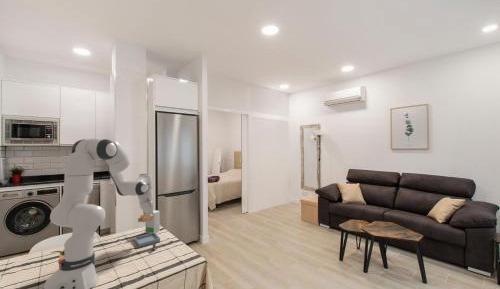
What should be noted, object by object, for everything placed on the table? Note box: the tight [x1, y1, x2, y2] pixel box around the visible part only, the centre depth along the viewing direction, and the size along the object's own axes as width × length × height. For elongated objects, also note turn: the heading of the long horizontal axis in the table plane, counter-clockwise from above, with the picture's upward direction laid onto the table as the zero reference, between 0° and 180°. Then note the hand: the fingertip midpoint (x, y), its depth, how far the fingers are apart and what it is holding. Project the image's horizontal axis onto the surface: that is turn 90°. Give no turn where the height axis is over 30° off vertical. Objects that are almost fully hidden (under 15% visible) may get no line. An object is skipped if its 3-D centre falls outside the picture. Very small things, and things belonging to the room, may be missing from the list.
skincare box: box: [145, 209, 161, 234], centre depth 174 cm, size 8×7×16 cm
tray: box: [133, 232, 161, 248], centre depth 157 cm, size 13×13×2 cm
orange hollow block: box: [137, 214, 153, 223], centre depth 156 cm, size 6×8×3 cm
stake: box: [151, 243, 158, 252], centre depth 145 cm, size 3×3×4 cm
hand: (146, 217), depth 157 cm, fingers closed on orange hollow block, 6 cm apart
